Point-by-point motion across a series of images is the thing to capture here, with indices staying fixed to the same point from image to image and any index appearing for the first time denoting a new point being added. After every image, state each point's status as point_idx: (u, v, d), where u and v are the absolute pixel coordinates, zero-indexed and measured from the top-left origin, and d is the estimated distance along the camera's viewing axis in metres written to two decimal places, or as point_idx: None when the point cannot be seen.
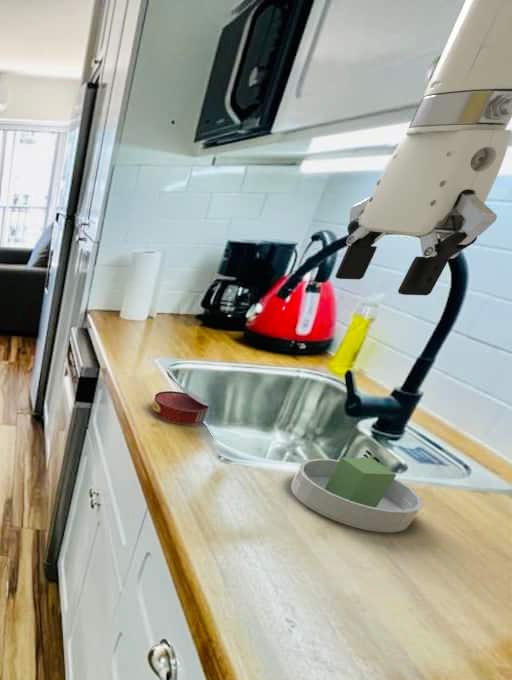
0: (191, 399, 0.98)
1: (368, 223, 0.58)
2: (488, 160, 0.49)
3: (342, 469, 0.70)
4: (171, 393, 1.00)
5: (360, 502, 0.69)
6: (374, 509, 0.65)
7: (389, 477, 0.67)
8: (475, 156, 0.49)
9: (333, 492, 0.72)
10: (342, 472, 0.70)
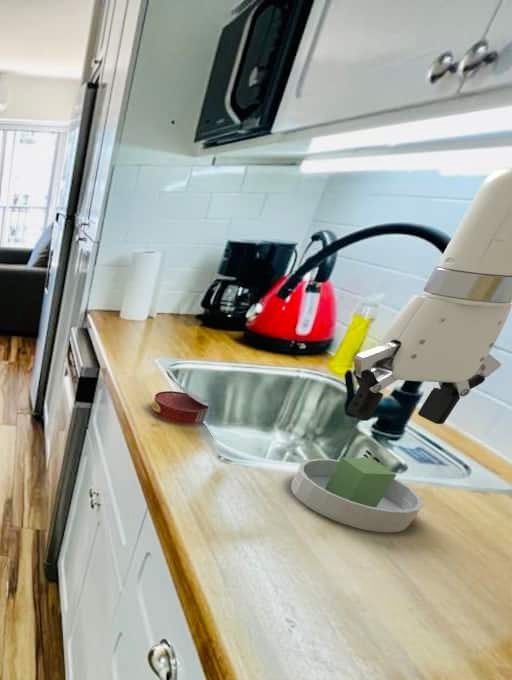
0: (191, 399, 0.98)
1: (410, 375, 0.60)
2: None
3: (342, 469, 0.70)
4: (171, 393, 1.00)
5: (360, 502, 0.69)
6: (374, 509, 0.65)
7: (389, 477, 0.67)
8: None
9: (333, 492, 0.72)
10: (342, 472, 0.70)
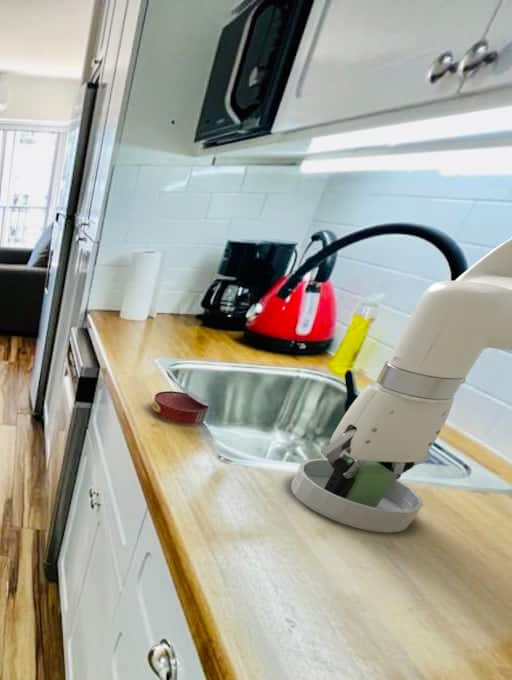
0: (191, 399, 0.98)
1: (366, 457, 0.66)
2: None
3: None
4: (171, 393, 1.00)
5: (360, 502, 0.69)
6: (374, 509, 0.65)
7: (389, 477, 0.67)
8: None
9: None
10: None
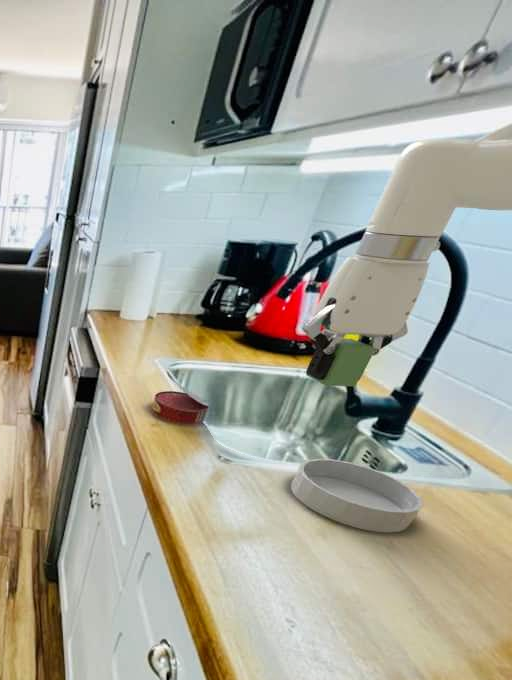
0: (191, 399, 0.98)
1: (345, 329, 0.68)
2: None
3: None
4: (171, 393, 1.00)
5: (340, 379, 0.71)
6: (374, 509, 0.65)
7: (368, 351, 0.69)
8: None
9: None
10: None
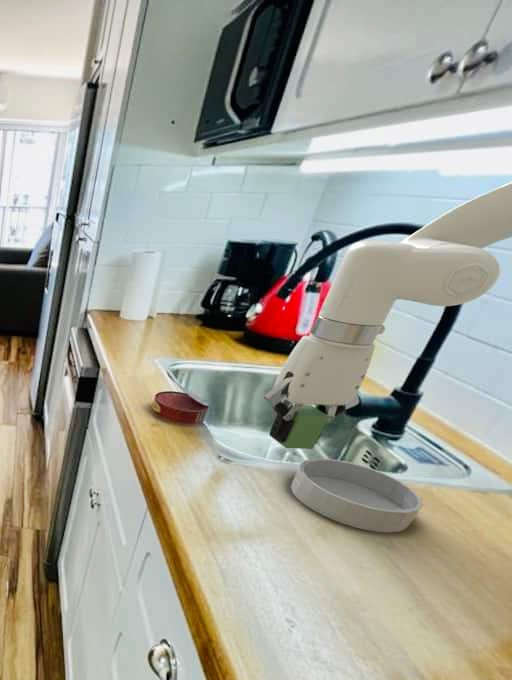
0: (191, 399, 0.98)
1: (301, 400, 0.75)
2: None
3: None
4: (171, 393, 1.00)
5: (299, 442, 0.78)
6: (374, 509, 0.65)
7: (323, 419, 0.76)
8: None
9: None
10: None
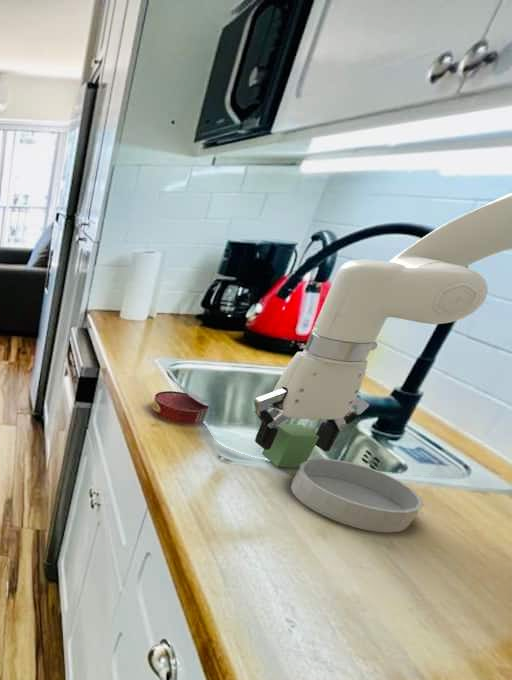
0: (191, 399, 0.98)
1: (296, 415, 0.76)
2: None
3: None
4: (171, 393, 1.00)
5: (290, 462, 0.80)
6: (374, 509, 0.65)
7: (313, 439, 0.78)
8: None
9: (269, 454, 0.82)
10: None
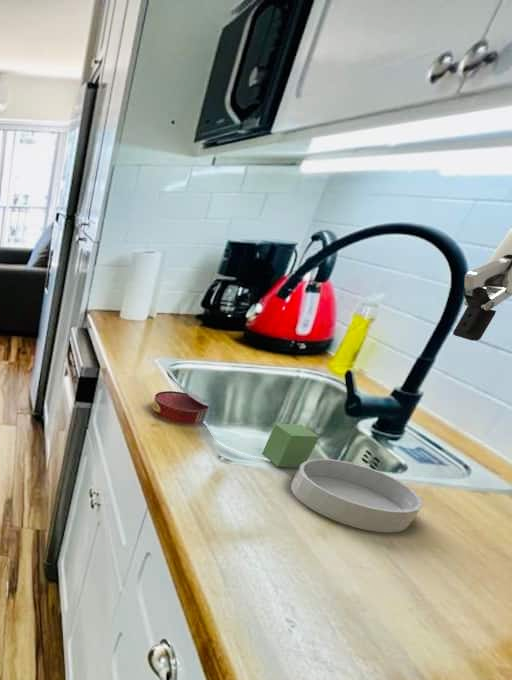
0: (191, 399, 0.98)
1: None
2: None
3: (275, 433, 0.81)
4: (171, 393, 1.00)
5: (290, 462, 0.80)
6: (374, 509, 0.65)
7: (313, 439, 0.78)
8: None
9: (269, 454, 0.82)
10: (275, 436, 0.81)
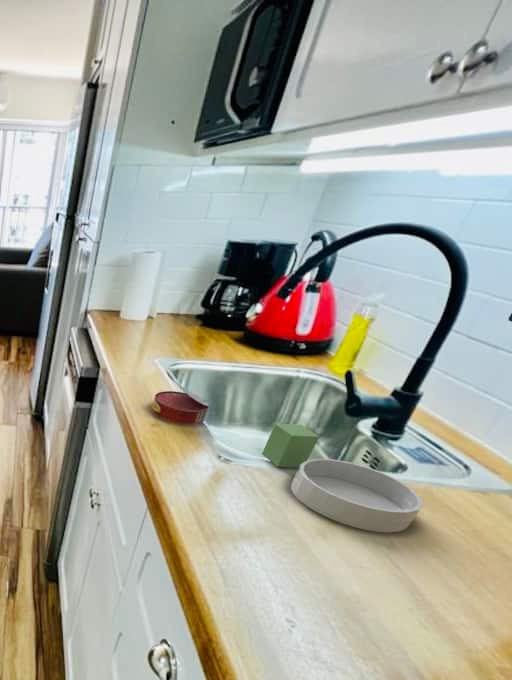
0: (191, 399, 0.98)
1: None
2: None
3: (275, 433, 0.81)
4: (171, 393, 1.00)
5: (290, 462, 0.80)
6: (374, 509, 0.65)
7: (313, 439, 0.78)
8: None
9: (269, 454, 0.82)
10: (275, 436, 0.81)
